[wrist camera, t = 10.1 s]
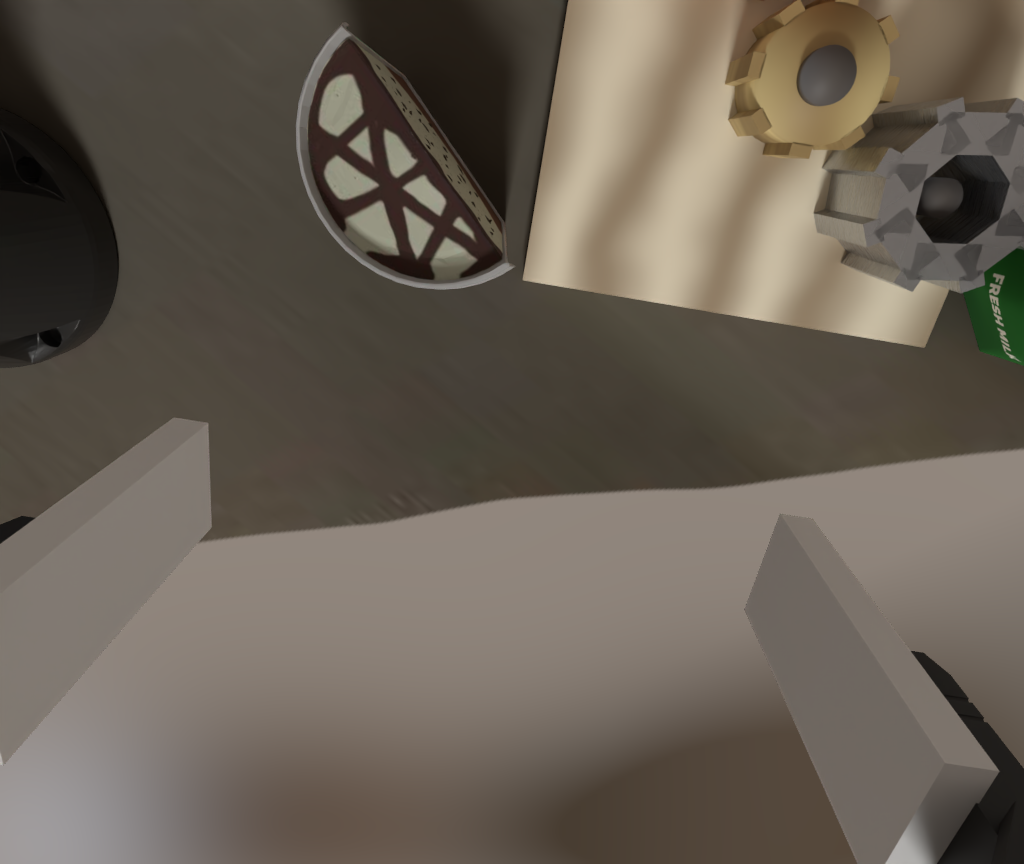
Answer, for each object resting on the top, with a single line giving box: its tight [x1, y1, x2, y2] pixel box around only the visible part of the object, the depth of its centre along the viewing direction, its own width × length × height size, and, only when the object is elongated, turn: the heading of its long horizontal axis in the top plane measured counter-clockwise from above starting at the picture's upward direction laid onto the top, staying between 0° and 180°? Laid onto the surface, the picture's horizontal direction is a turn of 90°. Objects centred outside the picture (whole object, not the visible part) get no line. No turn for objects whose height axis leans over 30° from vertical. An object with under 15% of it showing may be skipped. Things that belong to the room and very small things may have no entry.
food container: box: [296, 22, 515, 290], centre depth 33 cm, size 12×6×10 cm, turn 35°
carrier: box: [523, 0, 1024, 348], centre depth 32 cm, size 24×24×6 cm
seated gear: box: [813, 97, 1024, 293], centre depth 32 cm, size 8×8×6 cm
